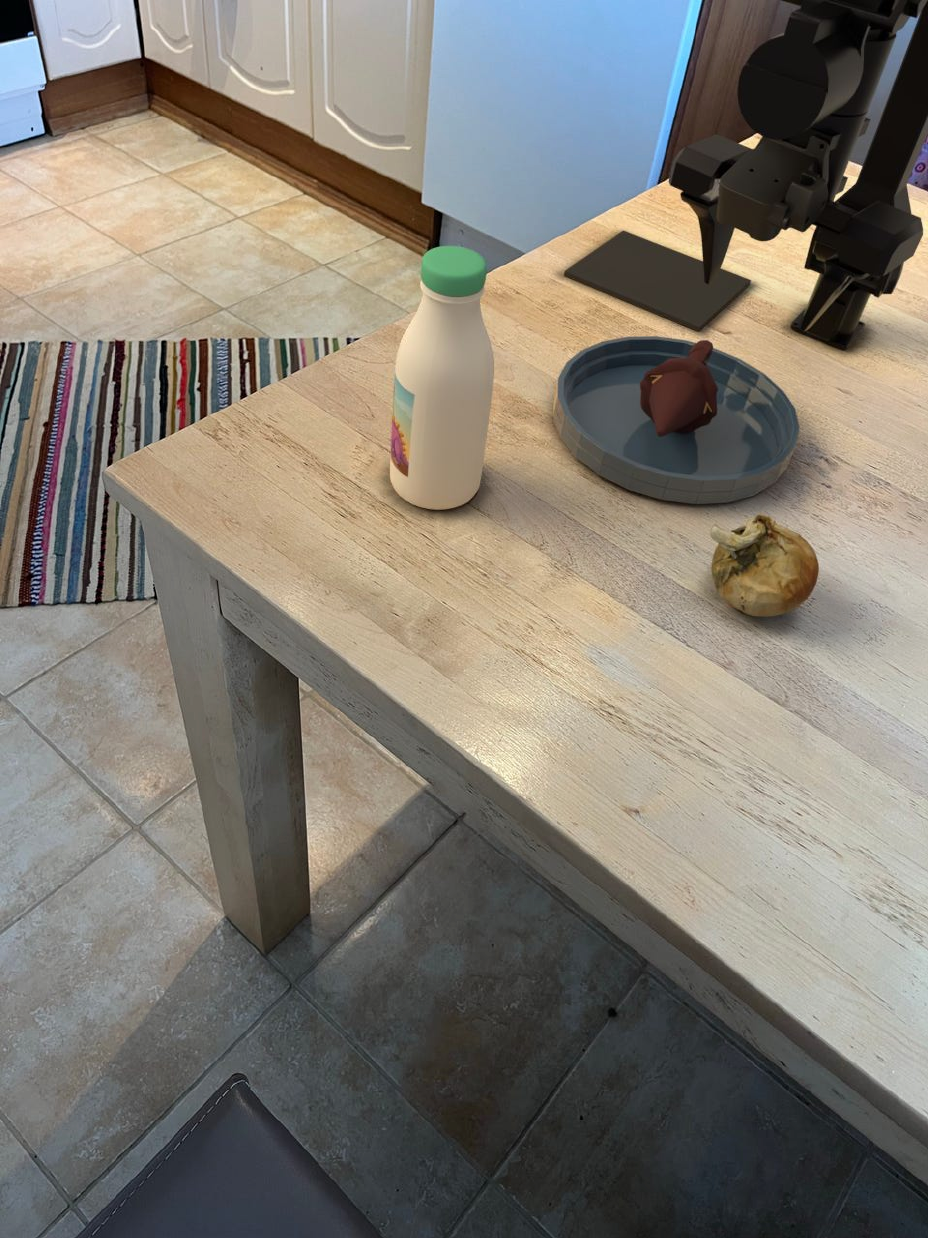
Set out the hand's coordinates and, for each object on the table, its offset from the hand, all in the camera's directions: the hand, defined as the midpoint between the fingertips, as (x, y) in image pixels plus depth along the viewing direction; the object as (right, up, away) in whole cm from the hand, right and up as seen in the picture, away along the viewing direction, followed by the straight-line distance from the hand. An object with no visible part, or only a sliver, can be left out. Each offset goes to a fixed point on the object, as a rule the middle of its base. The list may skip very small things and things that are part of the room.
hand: (755, 305), depth 78 cm
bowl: (-5, -8, +11) cm, 14 cm away
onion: (-2, -24, -3) cm, 24 cm away
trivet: (-2, +13, +31) cm, 33 cm away
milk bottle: (-26, -14, +3) cm, 30 cm away
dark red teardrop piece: (-5, -8, +11) cm, 14 cm away
